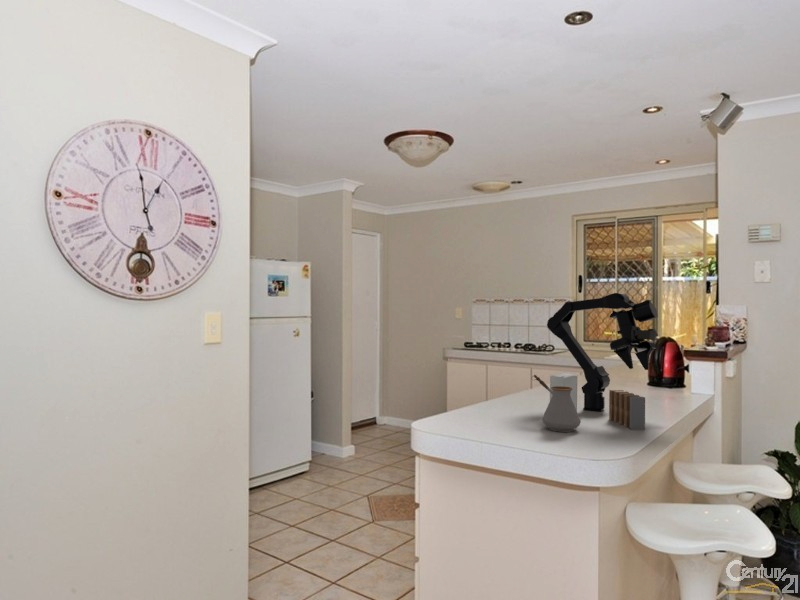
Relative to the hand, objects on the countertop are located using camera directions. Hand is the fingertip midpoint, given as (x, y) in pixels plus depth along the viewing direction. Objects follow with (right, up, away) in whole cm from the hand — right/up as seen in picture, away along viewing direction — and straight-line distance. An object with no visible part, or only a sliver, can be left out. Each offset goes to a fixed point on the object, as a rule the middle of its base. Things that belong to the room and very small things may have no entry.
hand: (639, 369), depth 186 cm
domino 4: (-9, -17, -14) cm, 23 cm away
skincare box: (-27, -17, -1) cm, 31 cm away
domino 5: (-8, -17, -17) cm, 25 cm away
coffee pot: (-34, -17, -13) cm, 40 cm away
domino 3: (-9, -17, -10) cm, 21 cm away
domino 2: (-9, -17, -7) cm, 20 cm away
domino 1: (-9, -17, -3) cm, 19 cm away
